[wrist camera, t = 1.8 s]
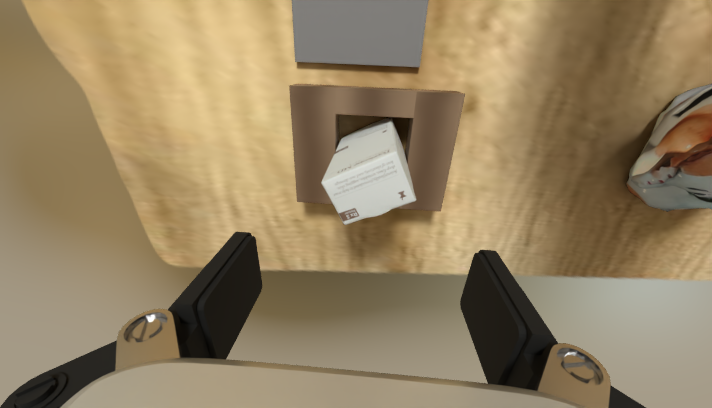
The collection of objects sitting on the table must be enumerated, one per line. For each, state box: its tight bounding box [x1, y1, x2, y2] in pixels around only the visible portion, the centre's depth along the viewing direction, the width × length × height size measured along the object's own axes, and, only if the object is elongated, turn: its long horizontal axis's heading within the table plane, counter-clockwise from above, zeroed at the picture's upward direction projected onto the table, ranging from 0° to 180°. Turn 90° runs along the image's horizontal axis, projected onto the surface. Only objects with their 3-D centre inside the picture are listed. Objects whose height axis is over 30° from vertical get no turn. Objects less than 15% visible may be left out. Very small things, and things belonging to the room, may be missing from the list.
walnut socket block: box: [289, 84, 465, 211], centre depth 29 cm, size 16×12×3 cm
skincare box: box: [321, 118, 416, 225], centre depth 25 cm, size 6×4×12 cm
